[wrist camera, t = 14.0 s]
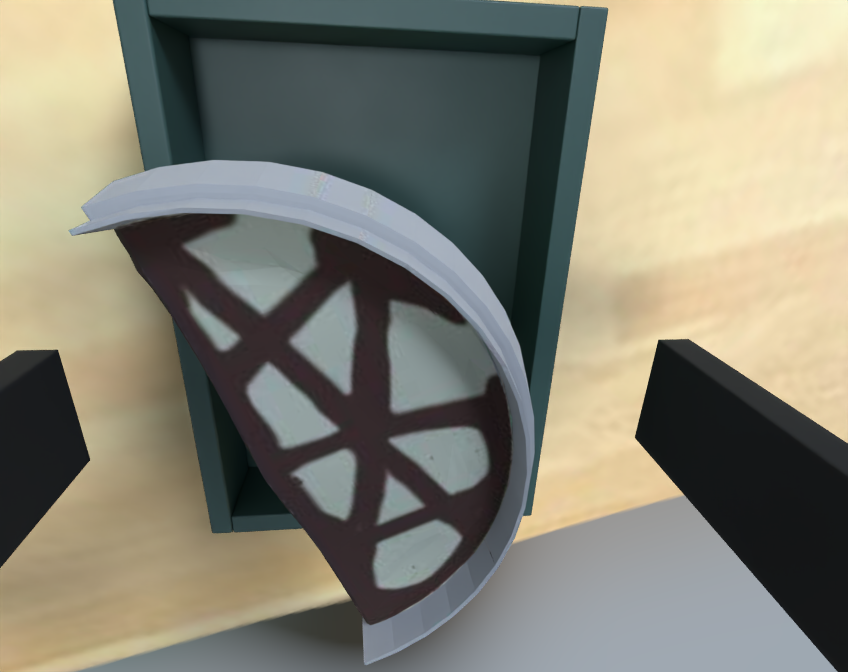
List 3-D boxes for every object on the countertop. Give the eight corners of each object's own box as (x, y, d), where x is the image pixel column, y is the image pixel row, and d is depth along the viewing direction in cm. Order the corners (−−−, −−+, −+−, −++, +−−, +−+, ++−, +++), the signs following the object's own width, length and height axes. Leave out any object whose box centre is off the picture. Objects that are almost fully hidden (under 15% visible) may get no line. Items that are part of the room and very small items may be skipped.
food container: (502, 390, 21) (610, 595, 12) (370, 439, 21) (373, 678, 12) (400, 87, 16) (448, 31, 7) (227, 157, 16) (43, 196, 7)
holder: (234, 473, 22) (211, 534, 18) (164, 9, 15) (106, -26, 11) (507, 460, 23) (531, 516, 20) (559, 31, 16) (609, 7, 13)
